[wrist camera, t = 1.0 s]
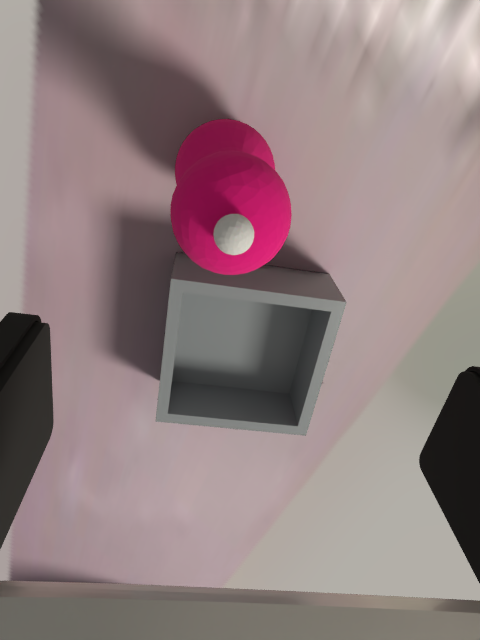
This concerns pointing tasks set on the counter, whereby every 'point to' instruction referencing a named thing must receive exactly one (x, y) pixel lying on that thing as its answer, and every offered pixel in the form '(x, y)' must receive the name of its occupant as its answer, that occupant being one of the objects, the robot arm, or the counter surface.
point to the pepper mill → (229, 199)
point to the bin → (246, 347)
